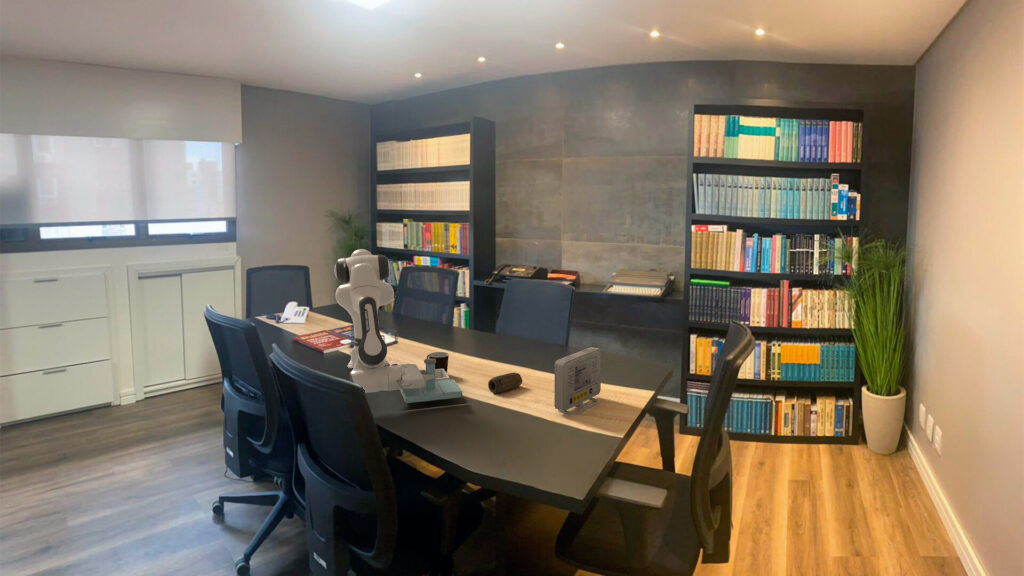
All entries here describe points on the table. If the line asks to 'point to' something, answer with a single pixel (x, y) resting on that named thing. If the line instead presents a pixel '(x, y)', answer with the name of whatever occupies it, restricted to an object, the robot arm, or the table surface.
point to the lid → (432, 388)
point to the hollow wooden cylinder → (504, 382)
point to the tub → (439, 375)
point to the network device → (577, 380)
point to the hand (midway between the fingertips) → (432, 374)
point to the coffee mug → (440, 360)
